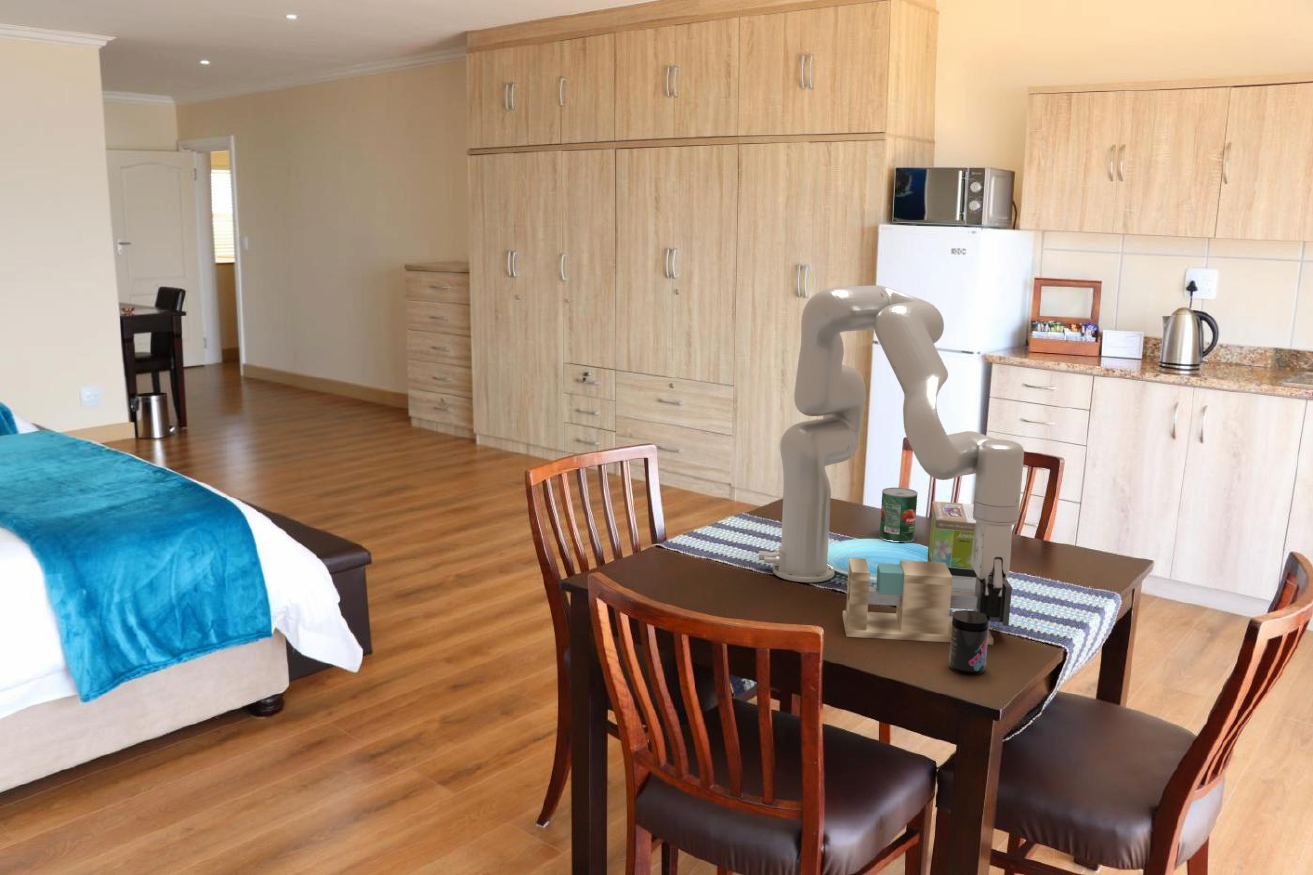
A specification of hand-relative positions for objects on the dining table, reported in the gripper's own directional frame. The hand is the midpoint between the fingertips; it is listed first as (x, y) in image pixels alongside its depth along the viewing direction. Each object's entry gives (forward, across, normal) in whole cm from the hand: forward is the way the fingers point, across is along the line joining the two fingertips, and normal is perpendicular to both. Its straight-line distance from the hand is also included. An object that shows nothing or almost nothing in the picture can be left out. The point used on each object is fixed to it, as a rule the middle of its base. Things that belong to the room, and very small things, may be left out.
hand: (987, 610), depth 189 cm
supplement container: (+4, +16, -6) cm, 18 cm away
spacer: (-3, 0, -17) cm, 17 cm away
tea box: (+5, -28, -1) cm, 28 cm away
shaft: (+1, 0, -10) cm, 10 cm away
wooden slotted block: (+4, 0, -12) cm, 13 cm away
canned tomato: (+5, -56, -9) cm, 57 cm away
